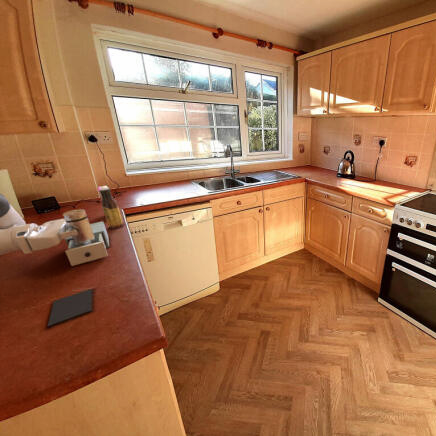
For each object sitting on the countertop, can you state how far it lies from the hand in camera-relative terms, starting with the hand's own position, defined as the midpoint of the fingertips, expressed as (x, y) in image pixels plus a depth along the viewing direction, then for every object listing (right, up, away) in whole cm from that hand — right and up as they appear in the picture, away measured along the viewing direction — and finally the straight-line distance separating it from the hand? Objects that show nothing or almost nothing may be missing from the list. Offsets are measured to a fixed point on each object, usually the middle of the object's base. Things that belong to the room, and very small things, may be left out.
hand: (80, 227), depth 92 cm
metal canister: (+1, -10, +4) cm, 11 cm away
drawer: (+1, -11, +4) cm, 12 cm away
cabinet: (-6, -8, +13) cm, 17 cm away
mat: (+17, -22, -22) cm, 36 cm away
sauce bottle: (-9, -1, +32) cm, 33 cm away
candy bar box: (-23, +5, +47) cm, 53 cm away
